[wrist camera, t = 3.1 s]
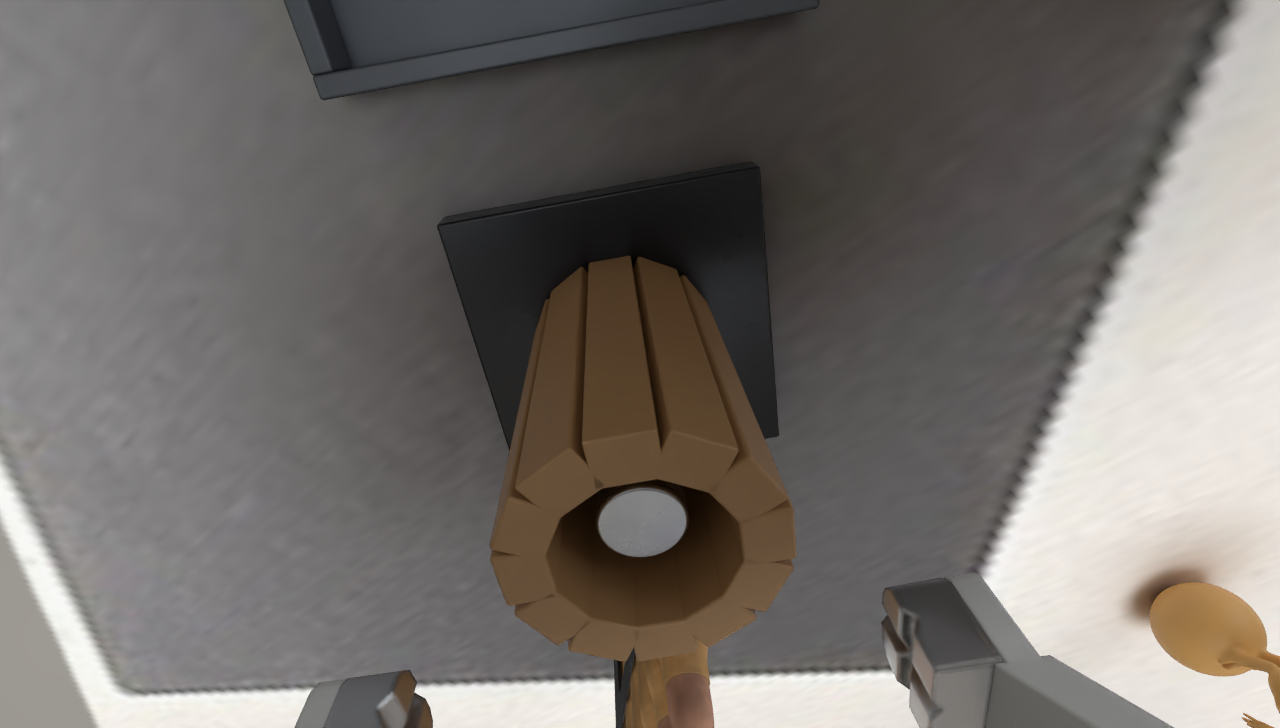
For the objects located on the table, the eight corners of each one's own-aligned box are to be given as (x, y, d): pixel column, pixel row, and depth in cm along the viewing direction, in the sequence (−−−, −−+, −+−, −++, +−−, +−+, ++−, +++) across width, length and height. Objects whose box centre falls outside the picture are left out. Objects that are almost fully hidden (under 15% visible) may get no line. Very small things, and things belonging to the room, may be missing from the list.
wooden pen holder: (516, 274, 20) (451, 465, 11) (702, 241, 20) (788, 407, 11) (558, 429, 23) (534, 680, 14) (721, 401, 22) (802, 636, 14)
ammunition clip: (638, 458, 25) (669, 775, 14) (684, 461, 25) (749, 775, 14) (613, 641, 29) (621, 980, 19) (651, 642, 30) (681, 978, 19)
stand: (443, 216, 20) (318, 360, 11) (752, 160, 20) (881, 259, 11) (521, 465, 24) (478, 707, 16) (772, 422, 24) (873, 642, 15)
